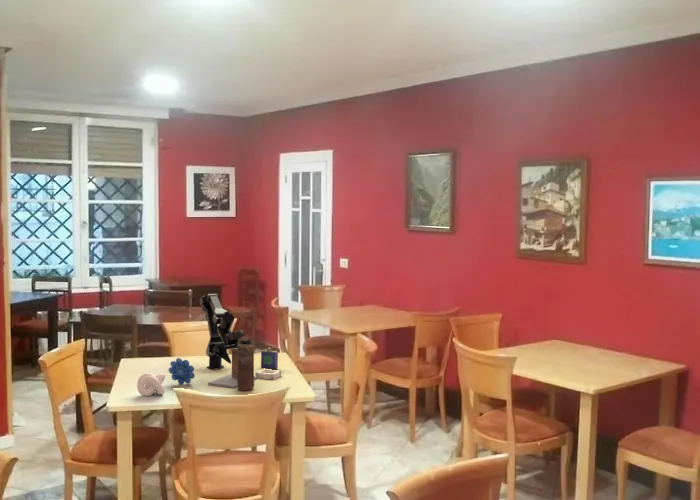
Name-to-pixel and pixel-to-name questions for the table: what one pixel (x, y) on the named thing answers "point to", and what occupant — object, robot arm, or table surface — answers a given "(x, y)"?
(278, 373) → the socket frame
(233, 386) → the serving board
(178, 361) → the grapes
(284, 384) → the table surface
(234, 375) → the brown wooden block
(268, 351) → the flask
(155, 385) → the pink knotted tube
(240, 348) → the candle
